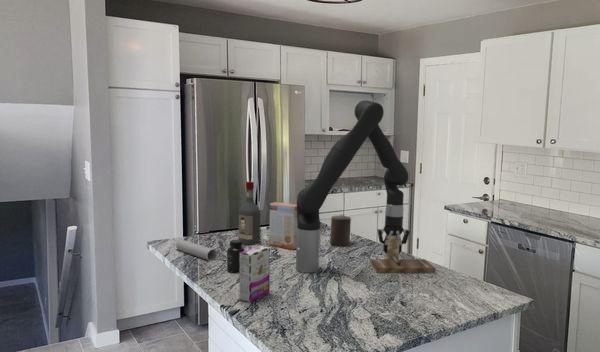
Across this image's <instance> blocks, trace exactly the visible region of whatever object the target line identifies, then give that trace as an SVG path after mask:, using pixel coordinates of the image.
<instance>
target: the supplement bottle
mask: <svg viewBox="0 0 600 352" xmlns="http://www.w3.org/2000/svg"><path fill="white" fill-rule="evenodd" d="M226 251H227V253H226V254H227V255H226V269H227V272H228V273H229V272H230V273H233V274H234V273H235V274H236V273H238V274H240V261H239V260H240V258H239V253H240V252H243V251H246V250H245V248H244V247H243V244H242V240H239V239H231V240H230V241H229V247H228V248H227V250H226Z"/></svg>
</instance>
